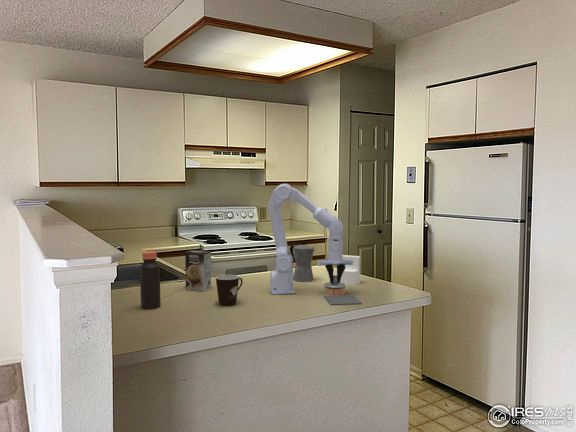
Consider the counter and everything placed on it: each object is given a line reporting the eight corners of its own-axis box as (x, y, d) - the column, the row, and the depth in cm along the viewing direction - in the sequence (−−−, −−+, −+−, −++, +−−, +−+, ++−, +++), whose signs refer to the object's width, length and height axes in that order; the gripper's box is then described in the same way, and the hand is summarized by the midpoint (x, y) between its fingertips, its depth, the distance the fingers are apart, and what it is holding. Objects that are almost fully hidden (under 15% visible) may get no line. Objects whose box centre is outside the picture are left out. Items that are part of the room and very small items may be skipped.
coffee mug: (220, 308, 164) (220, 280, 164) (212, 302, 172) (212, 276, 171) (250, 304, 170) (250, 277, 169) (241, 298, 177) (241, 273, 176)
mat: (330, 305, 168) (330, 304, 168) (323, 296, 180) (323, 295, 180) (362, 304, 170) (362, 303, 170) (352, 295, 182) (352, 294, 182)
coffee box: (184, 289, 190) (184, 251, 189) (193, 286, 196) (193, 249, 195) (203, 292, 187) (203, 253, 186) (212, 288, 193) (211, 250, 191)
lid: (327, 288, 181) (327, 278, 181) (322, 283, 189) (322, 273, 189) (347, 288, 182) (348, 277, 182) (342, 283, 191) (342, 273, 190)
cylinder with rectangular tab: (336, 283, 202) (337, 257, 201) (342, 279, 210) (342, 253, 209) (356, 285, 199) (357, 258, 198) (361, 281, 207) (362, 255, 206)
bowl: (328, 295, 182) (328, 289, 182) (323, 291, 189) (323, 285, 189) (346, 295, 183) (346, 288, 183) (341, 290, 190) (341, 284, 190)
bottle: (138, 306, 166) (136, 251, 164) (156, 303, 170) (155, 250, 169) (144, 310, 161) (143, 254, 159) (163, 307, 165) (162, 252, 163)
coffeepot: (321, 280, 208) (321, 241, 206) (306, 283, 202) (307, 243, 200) (296, 275, 219) (297, 237, 217) (282, 278, 213) (282, 239, 211)
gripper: (320, 251, 179) (319, 285, 181) (355, 251, 182) (355, 284, 183) (316, 248, 186) (315, 281, 188) (350, 248, 189) (350, 280, 190)
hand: (334, 282), depth 186 cm, fingers closed on lid, 2 cm apart
